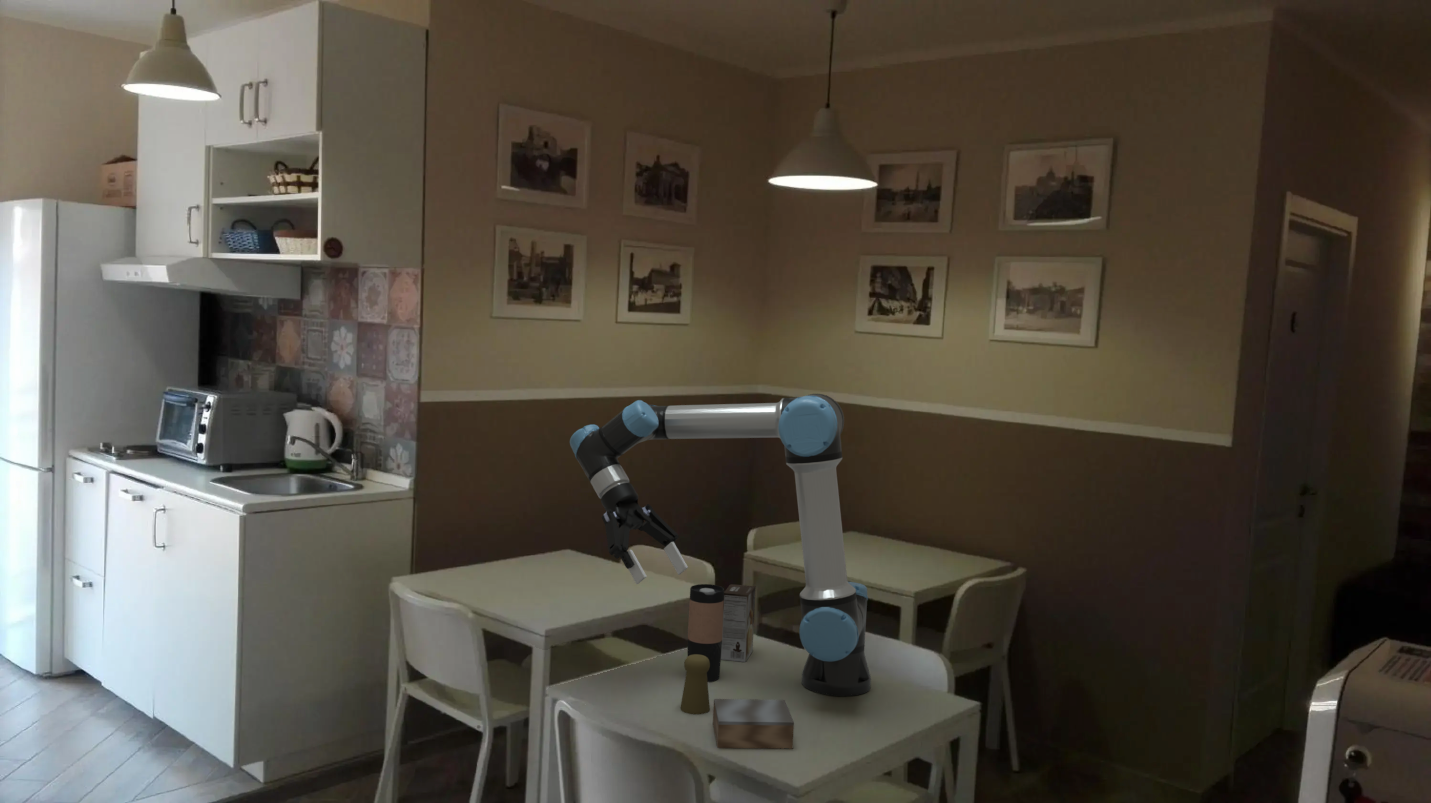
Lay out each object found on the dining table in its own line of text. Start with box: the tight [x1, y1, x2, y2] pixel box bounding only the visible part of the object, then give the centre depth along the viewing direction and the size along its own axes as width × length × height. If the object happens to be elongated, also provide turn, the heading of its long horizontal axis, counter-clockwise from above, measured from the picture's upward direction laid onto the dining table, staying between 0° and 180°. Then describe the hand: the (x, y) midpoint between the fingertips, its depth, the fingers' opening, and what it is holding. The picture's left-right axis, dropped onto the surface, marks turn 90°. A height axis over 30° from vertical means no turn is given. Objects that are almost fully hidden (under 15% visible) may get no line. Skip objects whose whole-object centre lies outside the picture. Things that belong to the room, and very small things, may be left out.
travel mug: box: [686, 583, 725, 683], centre depth 239 cm, size 8×8×20 cm
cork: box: [679, 654, 711, 715], centre depth 219 cm, size 6×6×11 cm
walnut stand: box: [712, 698, 795, 750], centre depth 207 cm, size 14×12×5 cm
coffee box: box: [721, 584, 756, 663], centre depth 256 cm, size 9×6×16 cm
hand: (663, 575), depth 223 cm, fingers open, 13 cm apart
